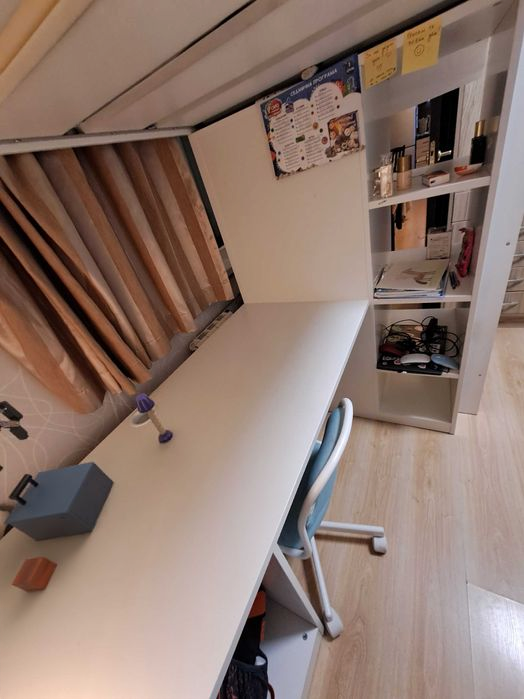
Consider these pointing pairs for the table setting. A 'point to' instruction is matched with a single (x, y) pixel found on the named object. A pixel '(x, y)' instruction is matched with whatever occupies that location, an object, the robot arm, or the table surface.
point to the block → (34, 574)
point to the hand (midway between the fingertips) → (12, 453)
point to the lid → (48, 493)
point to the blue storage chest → (73, 511)
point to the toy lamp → (152, 416)
